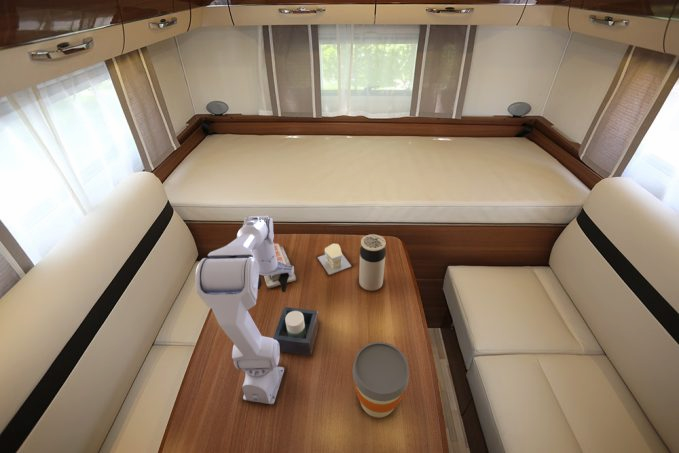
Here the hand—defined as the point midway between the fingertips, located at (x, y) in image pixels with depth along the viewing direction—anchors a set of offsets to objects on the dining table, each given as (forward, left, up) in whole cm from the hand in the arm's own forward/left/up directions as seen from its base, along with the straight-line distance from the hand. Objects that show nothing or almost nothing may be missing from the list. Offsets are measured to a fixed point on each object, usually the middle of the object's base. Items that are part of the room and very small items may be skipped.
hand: (272, 288), depth 97 cm
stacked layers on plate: (+24, -14, -11) cm, 30 cm away
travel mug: (+16, -28, -11) cm, 34 cm away
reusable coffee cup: (-22, -33, -11) cm, 41 cm away
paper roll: (-9, -9, -5) cm, 14 cm away
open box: (-8, -9, -10) cm, 16 cm away
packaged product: (+18, +6, -11) cm, 22 cm away
